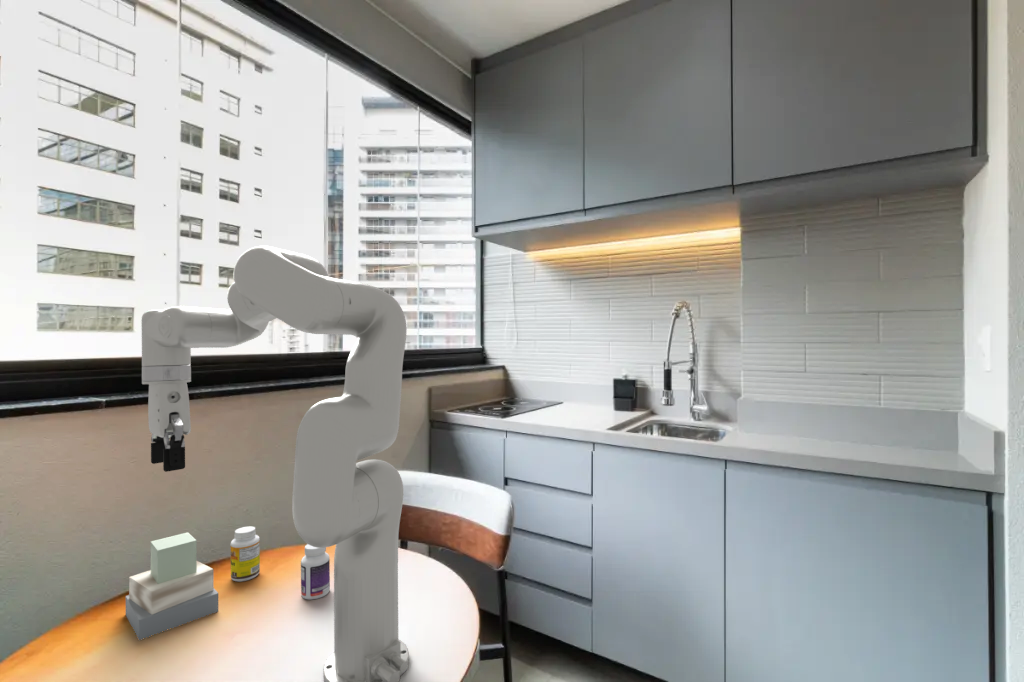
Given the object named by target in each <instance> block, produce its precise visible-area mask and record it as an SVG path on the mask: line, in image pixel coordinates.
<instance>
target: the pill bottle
mask: <svg viewBox="0 0 1024 682" xmlns="http://www.w3.org/2000/svg"><path fill="white" fill-rule="evenodd" d="M326 551H327V547H325V548H317V547H313V546H311V545H309V544H307V543H306V545H305V546H304V556H303V557H302V558H301V561H300V594H301V597H302V599H304V600H310V601H311V600H317V599H321V598H323V597H325V596H326V595H327V594H329V592H330V588H331V584H330V583H331V577H330V572H331V570H330V569H331V568H330V566H331V565H330V563H331V562H330V560H331V559H330V554H329V553H327V552H326Z"/></svg>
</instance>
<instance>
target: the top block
mask: <svg viewBox="0 0 1024 682" xmlns="http://www.w3.org/2000/svg"><path fill="white" fill-rule="evenodd" d="M128 578H129V580H128V582H129V583H128V584H129V587H128V589H129V590H128V593H129V594H128V595H129V599H130V600H132V601H133V602H135V603H136V604H137V605H139V606H140V607H142V608H143V609H145V610H146V611H147V612H149V613H150V614H155V613H157V612H160V611H162V610H165V609H167V608H170V607H172V606H175V605H177V604H180V603H182V602H185V601H187V600H190V599H192V598H195V597H197V596H200V595H202V594H205V593H207V592H210V591H212V590H213V588H214V569H213V568H212V567H210V566H208V565H206V564H204V563H202V562H200V561H198V560H197V572H195V573H192V574H189V575H186V576H182V577H179V578H176V579H172V580H169V581H166V582H163V583H159V584H157V582H156V581H155V579H154V578H153V576H152V575H151V569H149V570H146V571H143V572H140V573H137V574H134V575H131V576H129V577H128Z"/></svg>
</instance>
